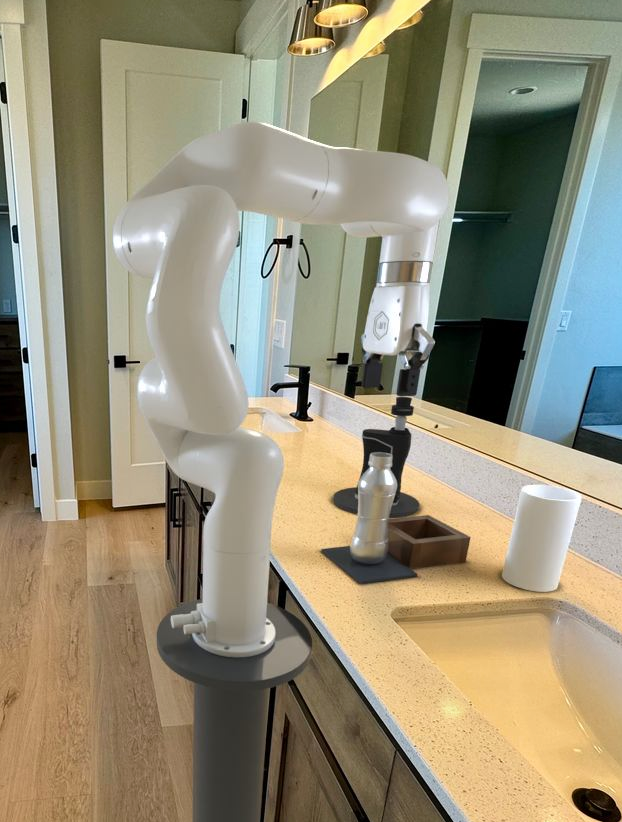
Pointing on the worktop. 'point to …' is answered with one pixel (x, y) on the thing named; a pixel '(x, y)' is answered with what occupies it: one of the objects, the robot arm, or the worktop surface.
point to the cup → (540, 537)
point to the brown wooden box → (425, 542)
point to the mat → (368, 567)
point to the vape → (398, 447)
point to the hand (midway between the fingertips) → (387, 391)
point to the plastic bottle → (374, 510)
